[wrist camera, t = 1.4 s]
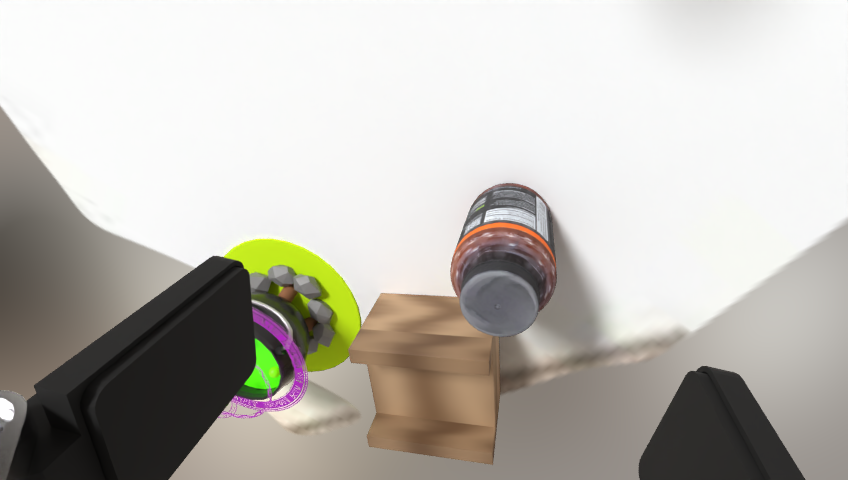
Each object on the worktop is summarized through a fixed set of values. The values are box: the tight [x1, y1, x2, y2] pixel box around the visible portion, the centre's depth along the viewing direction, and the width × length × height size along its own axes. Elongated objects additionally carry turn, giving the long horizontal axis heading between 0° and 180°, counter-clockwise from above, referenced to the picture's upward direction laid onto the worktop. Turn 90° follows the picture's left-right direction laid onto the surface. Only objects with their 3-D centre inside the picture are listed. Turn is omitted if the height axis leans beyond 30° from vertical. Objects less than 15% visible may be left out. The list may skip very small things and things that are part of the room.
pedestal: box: [348, 293, 500, 464], centre depth 35 cm, size 10×10×7 cm
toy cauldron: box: [224, 239, 361, 418], centre depth 36 cm, size 15×15×11 cm
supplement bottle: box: [451, 183, 557, 337], centre depth 26 cm, size 6×6×11 cm
